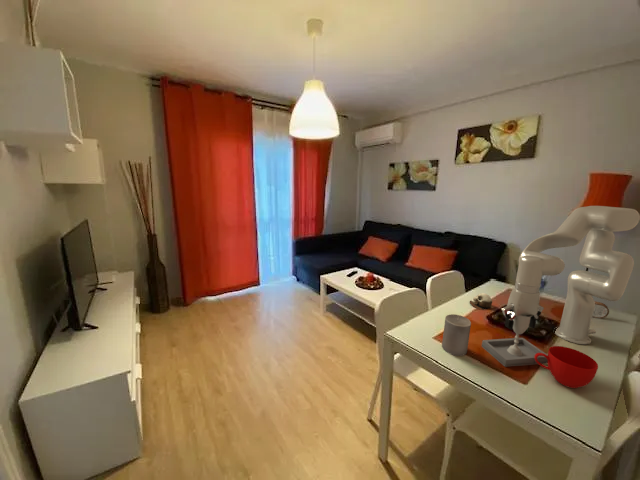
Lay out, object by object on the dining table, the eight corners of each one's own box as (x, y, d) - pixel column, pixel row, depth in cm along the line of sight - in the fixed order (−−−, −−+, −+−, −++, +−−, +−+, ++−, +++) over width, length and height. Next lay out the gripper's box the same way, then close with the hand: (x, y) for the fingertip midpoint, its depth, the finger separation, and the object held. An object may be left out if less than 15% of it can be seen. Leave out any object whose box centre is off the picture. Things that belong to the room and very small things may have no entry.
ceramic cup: (525, 362, 107) (530, 340, 105) (580, 374, 101) (587, 351, 99) (536, 385, 96) (542, 360, 94) (599, 400, 89) (607, 374, 87)
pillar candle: (447, 339, 122) (450, 309, 119) (470, 349, 115) (475, 317, 112) (438, 349, 116) (441, 317, 112) (462, 359, 109) (467, 326, 105)
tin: (605, 318, 143) (609, 303, 141) (607, 320, 140) (612, 305, 138) (568, 310, 151) (571, 296, 149) (569, 312, 148) (572, 298, 146)
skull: (463, 301, 158) (473, 287, 159) (471, 310, 162) (481, 296, 163) (482, 310, 147) (492, 294, 148) (490, 319, 151) (501, 304, 152)
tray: (521, 343, 120) (522, 337, 119) (548, 363, 107) (550, 356, 106) (481, 346, 117) (482, 340, 117) (504, 366, 105) (506, 359, 104)
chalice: (528, 358, 108) (536, 317, 104) (509, 356, 109) (516, 315, 105) (519, 347, 115) (526, 308, 111) (501, 345, 116) (508, 307, 112)
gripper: (538, 282, 110) (530, 320, 114) (499, 284, 108) (492, 323, 112) (556, 290, 103) (547, 330, 107) (514, 292, 101) (507, 333, 105)
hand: (519, 327), depth 110 cm, fingers open, 9 cm apart
